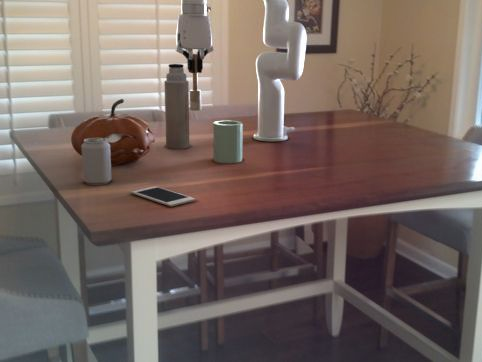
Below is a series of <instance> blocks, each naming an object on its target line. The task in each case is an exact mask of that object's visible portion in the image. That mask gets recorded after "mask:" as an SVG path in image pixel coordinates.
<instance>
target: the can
mask: <svg viewBox="0 0 482 362" xmlns="http://www.w3.org/2000/svg"><path fill="white" fill-rule="evenodd" d="M81 148H82V156H81V162H82V163H81V164H82V166H81V167H82V181H83V182H85V183H86V184H87V185H89V186H102V185H106V184H109V183H110V181H112V164H111V153H110V144H109V143H108V142H107V139H105V138H88V139H85V140H84V143H83V144H82V146H81Z"/></svg>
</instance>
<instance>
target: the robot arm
mask: <svg viewBox="0 0 482 362" xmlns="http://www.w3.org/2000/svg"><path fill="white" fill-rule="evenodd" d="M180 1H181V2H180V3H181V4H180V5H181V6H180V7H181V12H180V13H181V14H178V17H177V23H176V35H175V42H176V43H175V44H176V49H175V52H176V53H178V54H181V55H183V56H184V57H185V59H186V61H187V65H186V66H187V71H188V73H190V74H193V73H195V60H193V54H194V53H193V52H194V50H196V54H198V74H202V73H203V69H204V68H203V67H204V65H203V63H204V62H203V61H204V59H205V58H206V56H207V55H208V54H209V53H210V54H211V53H212V52H214V47H213V36H212V25H211V19H210V15H208V12H211V11H212V10H211V9H212V8H211V6H208V0H180ZM263 3H264V20H263V30H262V41H263V44H264V45H265V46H266V47H267V48H273V49H282V50H283V49H284V50H287V52H282V51H264V52H262V53H260V54H259V55H258V56H257V58H256V60H255V70H256V76H257V99H258V100H257V132H256V133H254V134H253V136H252V137H253V139H254V140H256V141H260V142H284V141H286V140H288V133H295V131H296V128H295V127H294V126H290V127H288V126H286V125H284V123H285V122H284V121H285V120H284V119H285V88H284V86H283V83H282V82H281V81H282V80H283V81H297V80H299V79H300V78H301V77H302V75H303V72H304V66H305V58H306V50H307V39H308V37H307V30H306V28H305V26H304V25H303V24H302V23H301V22H299V21H289V16H290V5H289V3H288V1H287V0H263Z"/></svg>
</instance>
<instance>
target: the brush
mask: <svg viewBox="0 0 482 362" xmlns="http://www.w3.org/2000/svg"><path fill="white" fill-rule="evenodd" d="M193 60H195V73H192V89H190V90H189V111H195V112H197V111H198V112H199V111H202V109H203V107H202V106H203V105H202V90H201V89H199V73H198V54H197V53H193Z"/></svg>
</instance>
